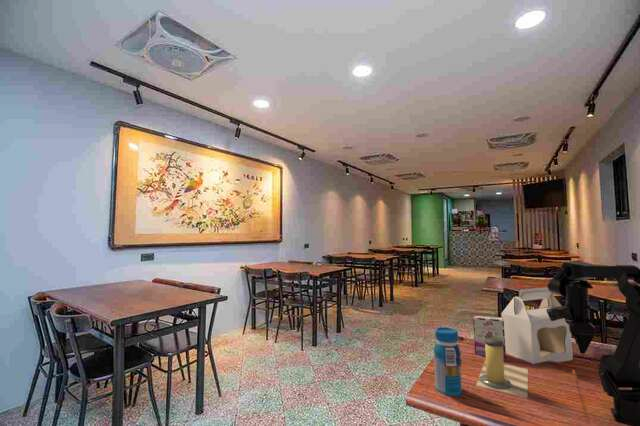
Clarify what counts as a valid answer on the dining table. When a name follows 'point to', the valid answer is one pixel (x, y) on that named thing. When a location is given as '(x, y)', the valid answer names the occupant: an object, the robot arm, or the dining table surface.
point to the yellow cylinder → (494, 360)
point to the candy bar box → (487, 332)
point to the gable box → (536, 329)
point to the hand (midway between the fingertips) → (580, 348)
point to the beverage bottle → (447, 362)
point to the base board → (512, 374)
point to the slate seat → (497, 386)
